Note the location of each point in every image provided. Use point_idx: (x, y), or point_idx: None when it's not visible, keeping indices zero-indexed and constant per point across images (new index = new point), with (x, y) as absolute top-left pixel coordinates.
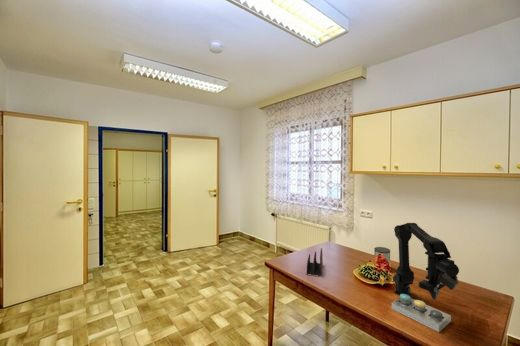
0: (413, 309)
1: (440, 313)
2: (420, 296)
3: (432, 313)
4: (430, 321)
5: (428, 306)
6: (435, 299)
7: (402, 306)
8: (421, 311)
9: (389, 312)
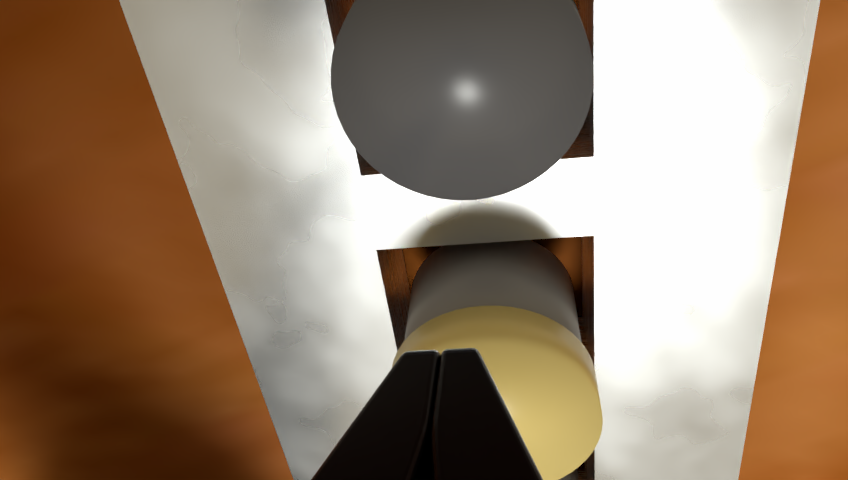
0: (616, 363)
1: (389, 23)
2: (14, 451)
3: (575, 119)
4: (809, 9)
5: (253, 294)
6: (470, 353)
7: (686, 470)
8: (555, 276)
9: (827, 458)
